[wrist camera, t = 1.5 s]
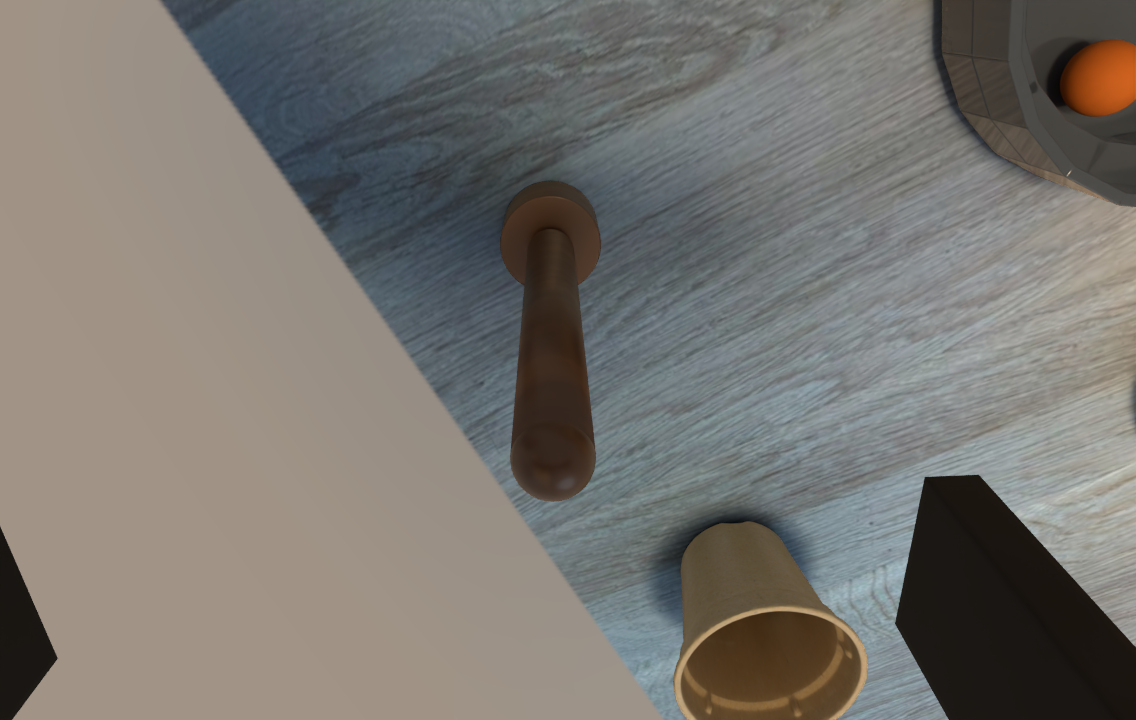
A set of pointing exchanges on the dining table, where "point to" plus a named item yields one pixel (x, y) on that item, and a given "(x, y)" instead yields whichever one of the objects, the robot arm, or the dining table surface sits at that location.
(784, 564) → the flower pot
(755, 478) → the dining table surface
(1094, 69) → the bead
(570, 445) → the wooden pestle
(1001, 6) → the bowl
